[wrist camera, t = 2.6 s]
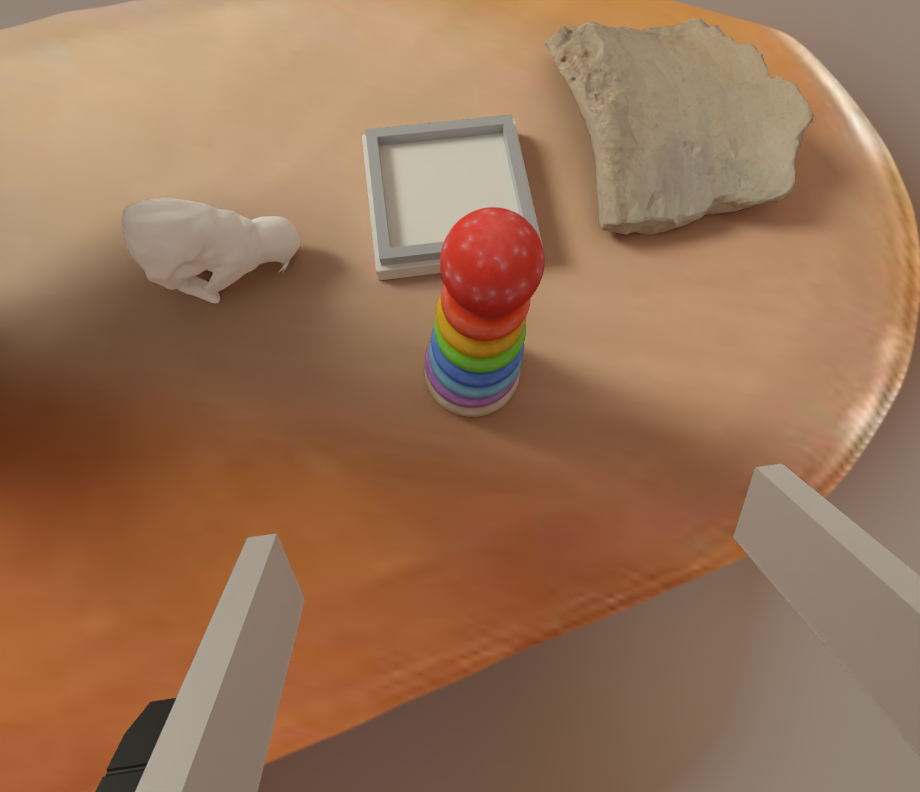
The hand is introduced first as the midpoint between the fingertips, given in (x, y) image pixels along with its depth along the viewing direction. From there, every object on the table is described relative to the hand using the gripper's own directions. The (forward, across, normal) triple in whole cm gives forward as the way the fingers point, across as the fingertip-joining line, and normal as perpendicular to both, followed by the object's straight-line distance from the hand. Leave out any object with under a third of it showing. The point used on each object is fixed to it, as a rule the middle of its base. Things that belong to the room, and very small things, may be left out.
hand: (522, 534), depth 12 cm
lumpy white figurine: (+33, -18, +2) cm, 38 cm away
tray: (+36, +1, +6) cm, 37 cm away
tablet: (+41, +24, +9) cm, 48 cm away
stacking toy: (+24, +1, -7) cm, 25 cm away
